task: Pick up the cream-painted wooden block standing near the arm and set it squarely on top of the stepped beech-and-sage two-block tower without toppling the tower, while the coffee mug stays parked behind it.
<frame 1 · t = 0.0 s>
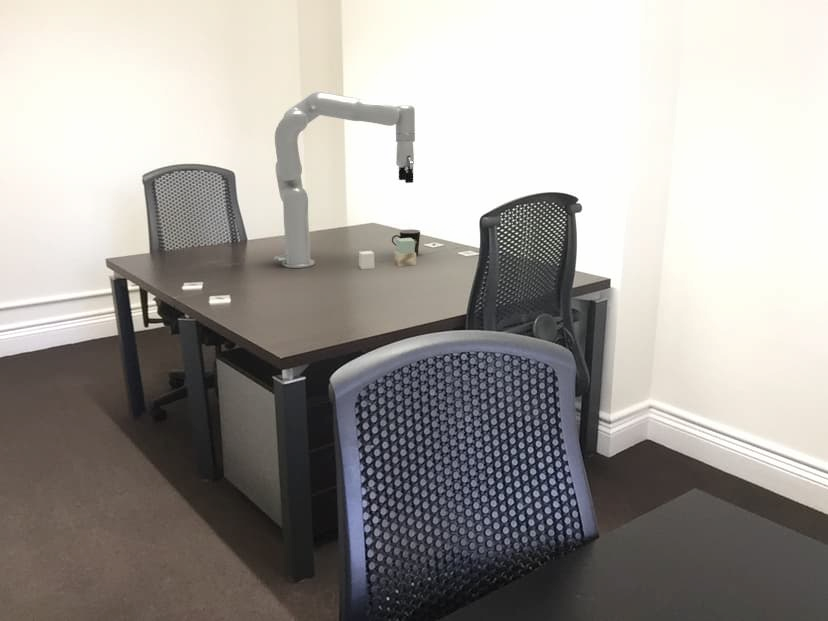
hand: (405, 181, 294), 31 cm above the table, fingers open, 9 cm apart
coffee mug: (406, 255, 307), on the table
tower base: (405, 264, 291), on the table
top block: (366, 267, 286), on the table
tower mid: (405, 252, 290), point 5 cm above the table
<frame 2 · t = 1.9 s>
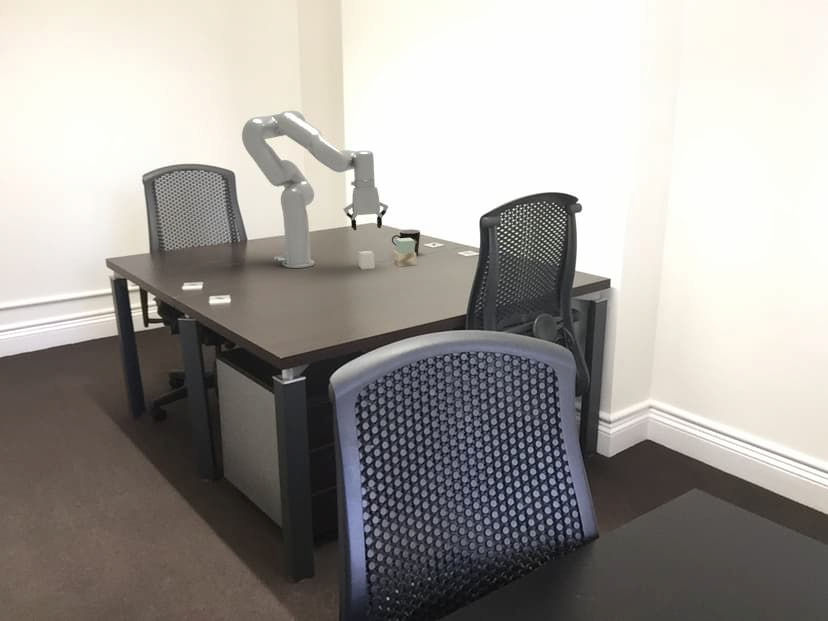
hand: (366, 228, 281), 15 cm above the table, fingers open, 9 cm apart
tower base: (405, 264, 291), on the table, touching tower mid
tower mid: (405, 251, 289), point 5 cm above the table, touching tower base
everything else where it was.
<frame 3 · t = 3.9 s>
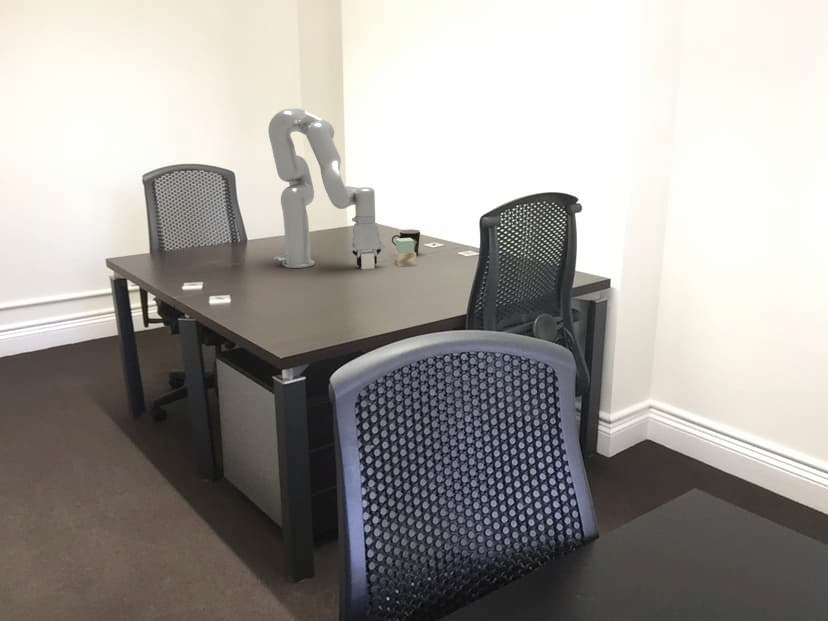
hand: (366, 265, 286), 1 cm above the table, fingers closed on top block, 5 cm apart
top block: (366, 267, 286), on the table, touching gripper
everything else where it was.
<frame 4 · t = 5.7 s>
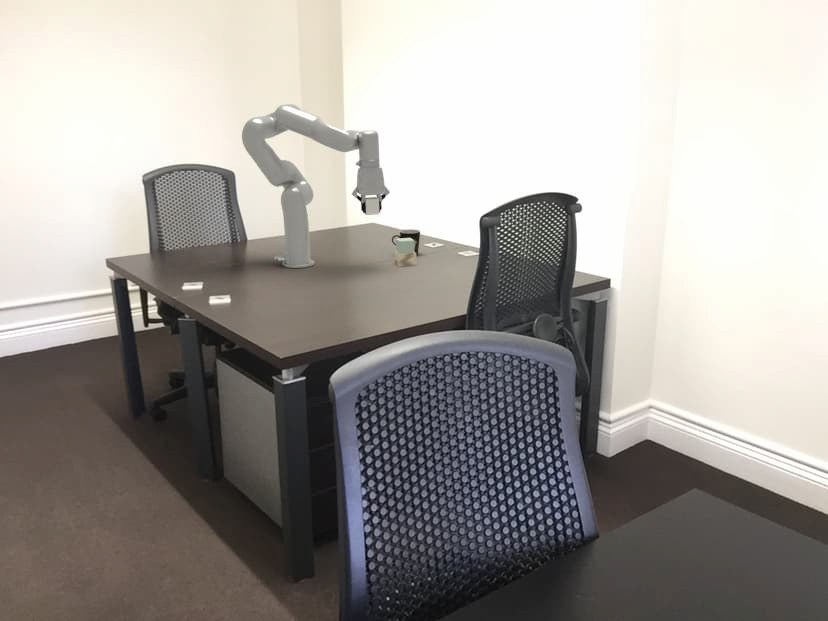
hand: (371, 211, 280), 22 cm above the table, fingers closed on top block, 4 cm apart
tower base: (405, 264, 291), on the table
top block: (371, 213, 280), point 21 cm above the table, touching gripper
tower mid: (405, 251, 290), point 5 cm above the table
everything else where it was.
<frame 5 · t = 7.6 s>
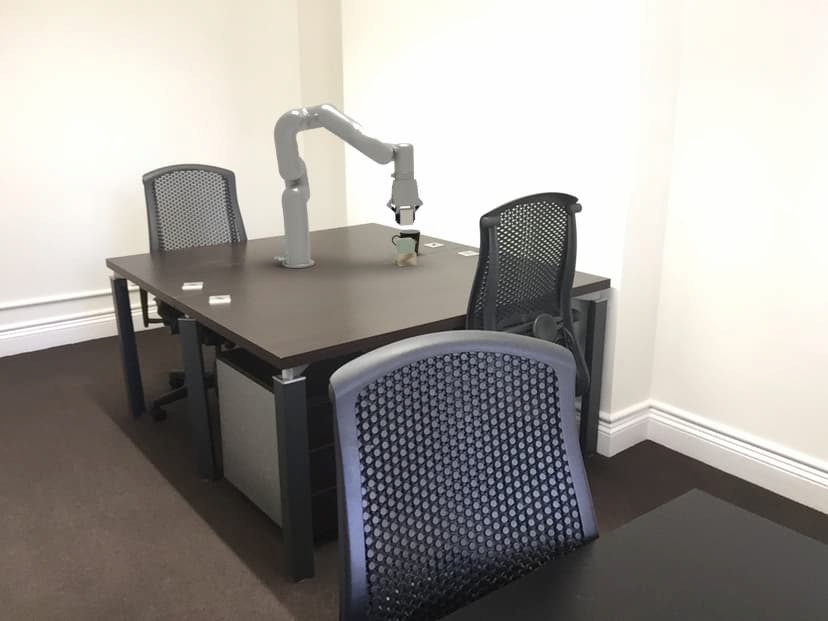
hand: (405, 222, 286), 17 cm above the table, fingers closed on top block, 4 cm apart
top block: (405, 224, 286), point 16 cm above the table, touching gripper
everything else where it was.
when the fingers open (12 cm above the table, at t = 9.1 s): top block drops 1 cm, resting on tower mid.
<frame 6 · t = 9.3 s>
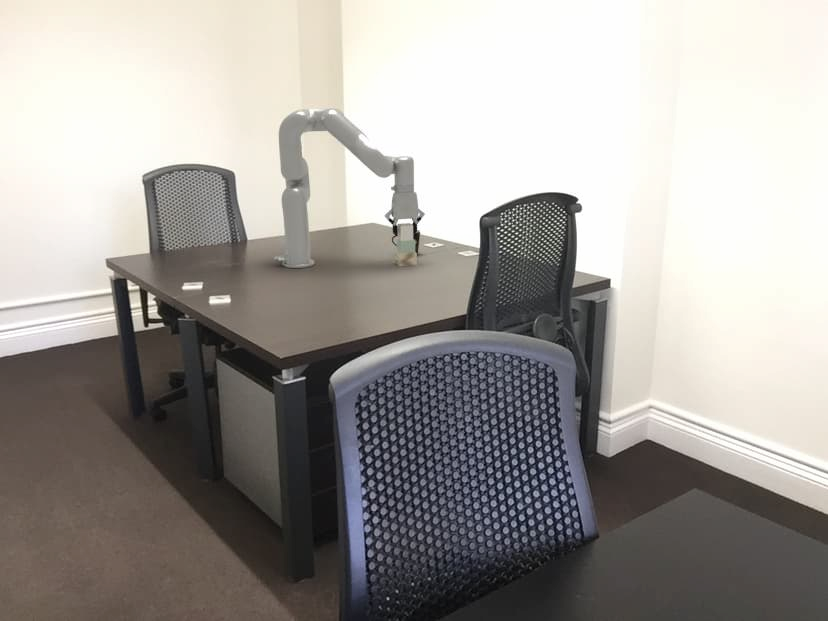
hand: (405, 234, 287), 12 cm above the table, fingers open, 7 cm apart
tower base: (406, 264, 291), on the table, touching tower mid
top block: (405, 239, 288), point 10 cm above the table, touching tower mid
tower mid: (406, 251, 290), point 5 cm above the table, touching top block, tower base
everything else where it was.
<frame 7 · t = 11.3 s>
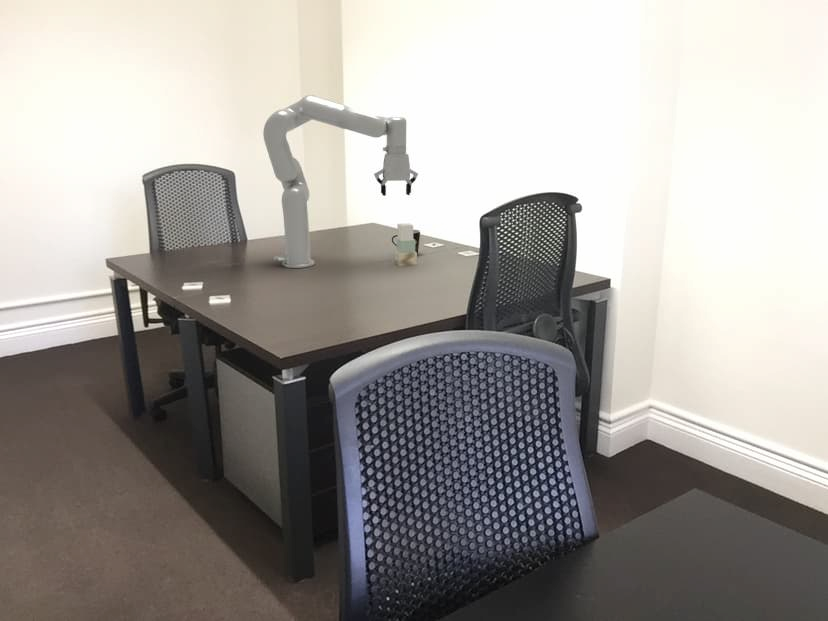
hand: (396, 195, 284), 27 cm above the table, fingers open, 9 cm apart
nothing on the table moved.
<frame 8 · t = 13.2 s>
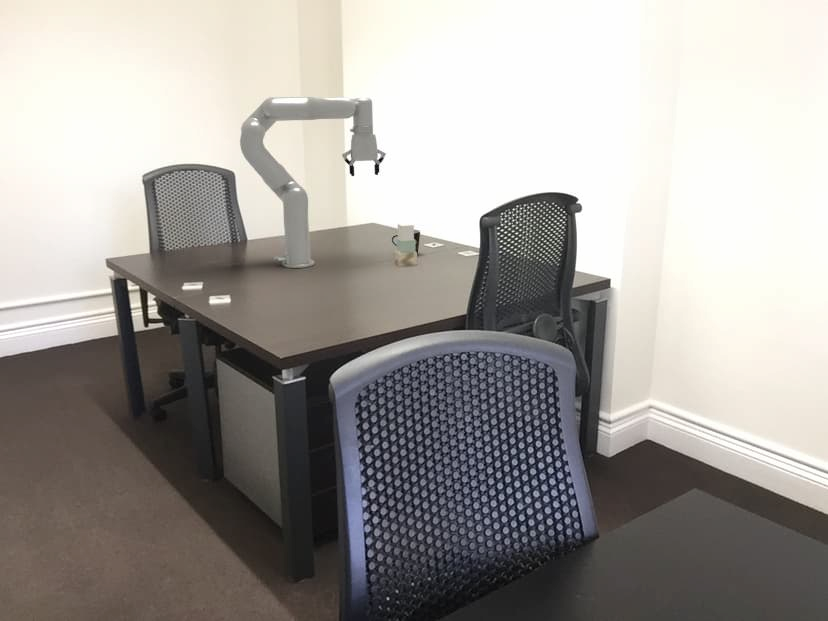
hand: (364, 175, 289), 34 cm above the table, fingers open, 9 cm apart
nothing on the table moved.
at the end: top block 0.6 cm off-centre on the tower mid, point 5.0 cm above the tower mid's base; tower mid tilted 0°; top block tilted 0° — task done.
